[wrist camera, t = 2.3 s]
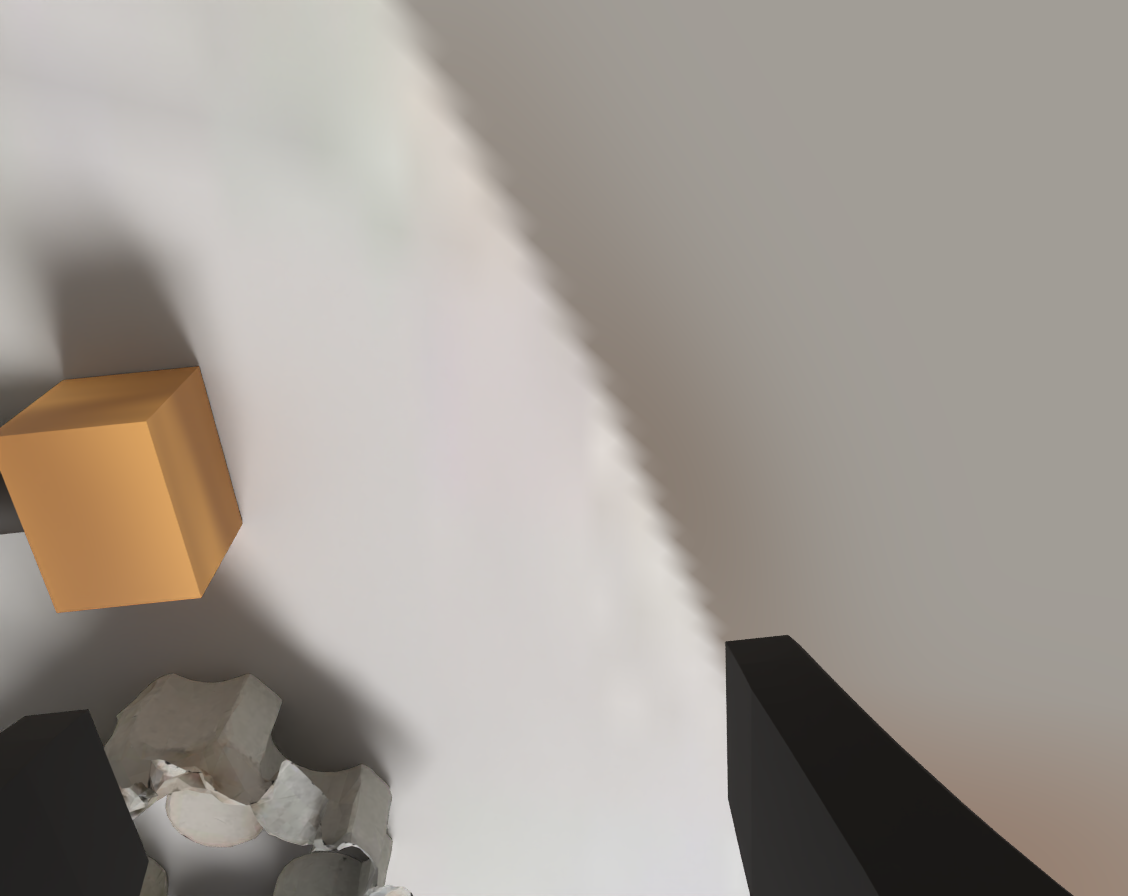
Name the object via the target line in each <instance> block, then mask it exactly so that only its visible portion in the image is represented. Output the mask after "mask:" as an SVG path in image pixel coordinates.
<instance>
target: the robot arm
mask: <svg viewBox="0 0 1128 896" xmlns="http://www.w3.org/2000/svg"><path fill="white" fill-rule="evenodd" d="M725 646H726V705H727V765H728V800H729V805H730V809H731V814H732V818H733V823H734V827H735V832H736V836H737V841H738V845H739V849H740V854H741V858H742V862H743V867H744V871H745V875H746V879H747V884H748V888H749V892H750V896H1073V895H1072V894H1071V893H1069V892H1068V891H1067V890H1065V889H1064V888H1063V887H1062V886H1061V885H1059V884H1058V883H1057V882H1056V881H1054V880H1053V879H1052V878H1051V877H1050V876H1048V875H1047V874H1046V873H1045V872H1044V871H1042V870H1041V869H1040V868H1039V867H1038V866H1036V865H1035V864H1034V863H1033V862H1031V861H1030V860H1029V859H1028V858H1027V857H1025V856H1024V855H1023V854H1022V853H1021V852H1019V851H1018V850H1017V849H1016V848H1015V847H1013V846H1012V845H1011V844H1010V843H1009V842H1007V841H1006V840H1005V839H1004V838H1003V837H1001V836H1000V835H999V834H998V833H997V832H995V831H994V830H993V829H992V828H991V827H990V826H989V825H987V824H986V823H985V822H984V821H983V820H982V819H981V818H979V817H978V816H977V815H976V814H975V813H974V812H973V811H971V810H970V809H969V808H968V807H967V806H966V805H964V804H963V803H962V802H961V801H960V800H959V799H958V798H957V797H956V796H954V795H953V794H952V793H951V792H950V791H949V790H948V789H947V788H946V787H945V786H944V785H943V784H942V783H940V782H939V781H938V780H937V779H936V778H935V777H934V776H933V775H932V774H931V773H929V772H928V771H927V770H926V769H925V768H924V767H923V766H922V765H921V764H919V763H918V762H917V761H916V760H915V759H914V758H913V757H912V756H911V755H910V754H909V753H907V752H906V751H905V750H904V749H903V748H902V747H901V746H900V745H899V744H898V743H897V742H896V741H895V740H894V739H893V738H892V737H891V736H890V735H889V734H888V733H887V732H886V731H884V730H883V729H882V728H881V727H880V726H879V725H878V724H877V723H876V722H875V721H874V720H873V719H872V718H871V717H870V716H869V715H868V714H867V713H866V712H865V711H864V710H863V709H862V708H861V707H860V706H859V705H858V704H857V703H856V702H855V701H854V700H853V699H852V698H851V697H850V696H849V695H848V694H847V693H846V692H845V691H844V690H843V689H842V688H841V687H840V686H839V685H838V684H837V683H836V682H835V681H834V680H833V679H832V678H831V677H830V676H829V675H828V674H827V673H826V672H825V671H824V670H823V669H822V668H821V666H819V665H818V663H817V662H816V661H815V660H814V659H813V658H812V657H811V656H810V655H809V654H808V653H807V652H806V651H805V650H804V649H803V648H802V647H801V646H800V645H799V644H798V643H797V642H796V641H795V640H793V639H792V638H791V637H790V636H788V635H783V636H773V637H765V638H755V639H745V640H736V641H726V642H725ZM148 863H149V860H148V857H147V855H146V853H145V850H144V848H143V845H142V843H141V840H140V838H139V835H138V833H137V830H136V828H135V825H134V823H133V820H132V818H131V815H130V813H129V810H128V808H127V805H126V803H125V800H124V798H123V795H122V793H121V790H120V788H119V785H118V783H117V780H116V778H115V775H114V773H113V770H112V768H111V765H110V763H109V760H108V758H107V755H106V753H105V750H104V748H103V745H102V743H101V740H100V738H99V735H98V733H97V730H96V728H95V725H94V723H93V720H92V718H91V715H90V713H89V710H88V709H87V710H78V711H69V712H59V713H50V714H40V715H31V716H25V717H23V718H22V719H20V720H19V721H17V722H16V723H14V724H13V725H12V726H10V727H9V728H7V729H6V730H4V731H3V732H1V733H0V896H140V892H141V889H142V885H143V881H144V878H145V874H146V870H147V866H148Z"/></svg>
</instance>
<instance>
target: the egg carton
mask: <svg viewBox="0 0 1128 896" xmlns="http://www.w3.org/2000/svg"><path fill="white" fill-rule="evenodd" d="M282 702H283V701H282V700H281V699H280V697H279V696H278V695H277V694H276V693H274V692H273V691H272V690H271V689H269V688H268V687H267V686H266V685H264V684H263V683H262V682H261V681H260V680H259V679H258V678H256V677H255V676H253V675H252V674H245V675H242V676H240V677H237V678H234V679H230V680H226V681H223V682H212V683H206V682H199V681H193V680H189V679H186V678H184V677H182V676H179V675H177V674H174V673H172V674H168V675H164V676H162V677H160V678H158V679H157V680H155V681H154V682H152V683H151V684H150V685H149V686H148V687H147V688H146V689H145V690H144V691H142V692H141V693H140V694H139V695H138V696H137V698H136V699H135V700H134V701H133V702H132V703H130V704H129V705H128V706H127V707H126V708H125V709H123V710H122V711H121V712H120V713H119V714H118V715H117V716H116V717H117V719H118V723H117V725H116V728H115V730H114V732H113V735H112V736H111V738H110V739H109V740H108V742H107V743H106V745H105V747H104V750H105V753H106V755H107V758H108V760H109V763H110V765H111V768H112V770H113V773H114V775H115V778H116V780H117V783H118V785H119V788H120V790H121V793H122V795H123V798H124V800H125V803H126V805H127V808H128V810H129V813H130V815H131V818H132V820H133V819H135V818H136V817H137V816H139V815H140V814H141V813H142V812H144V811H145V810H146V809H147V808H149V807H150V806H151V805H152V804H154V803H155V802H156V801H158V800H159V799H161V798H163V797H164V796H166V795H167V801H166V812H167V816H168V818H169V819H170V821H171V823H172V825H173V827H174V828H175V829H176V830H177V831H178V832H179V833H180V834H181V835H183V836H185V837H186V838H188V839H190V840H192V841H194V842H196V843H199V844H202V845H204V846H210V847H231V846H234V845H237V844H241V843H243V842H246V841H249V840H252V839H255V838H256V837H257V836H258V835H259V834H260V833H261V832H262V830H263V828H264V829H265V830H266V832H267V833H268V834H270V835H273V836H276V837H278V838H279V839H281V840H284V841H287V842H290V843H294V844H298V845H302V846H304V845H307V844H312V845H313V847H312V850H311V853H310V854H306V855H303V856H300V857H297V858H295V859H293V860H292V861H291V862H290V863H289V864H287V865H286V866H285V867H284V869H283V870H282V872H281V873H280V875H279V876H278V879H277V882H276V886H275V889H274V893H273V896H413V895H412V893H411V892H410V891H409V890H408V889H406V888H405V887H396V886H390V885H387V886H384V885H385V880H386V874H387V869H388V865H389V861H390V856H391V851H392V843H393V841H392V840H391V838H390V836H388V835H387V834H386V831H387V824H388V816H389V810H390V805H391V801H392V795H391V791H390V788H389V786H388V785H387V784H386V783H385V782H384V781H383V780H382V779H381V778H380V777H379V776H378V775H376V774H375V772H374V771H373V770H372V769H371V768H369V767H368V766H365V765H363V764H360V765H358V766H355V767H353V768H350V769H346V770H342V771H337V772H319V771H313V770H310V769H307V768H304V767H301V766H299V765H297V764H295V763H293V762H291V761H289V760H288V759H287V758H286V757H284V756H283V755H282V754H281V753H280V752H279V750H278V749H277V748H276V746H275V745H274V743H273V741H272V736H271V732H272V729H273V727H274V724H275V721H276V719H277V716H278V713H279V710H280V707H281V704H282ZM349 846H354V847H358V848H360V849H361V850H362V851H363V852H364V853H365V854H366V855H367V856H368V857H369V858H370V859H369V860H366V861H364V862H360V861H358V860H356V859H354V858H352V857H350V856H348V855H344V854H339V853H333V852H316V853H312V852H314V851H327V850H336V849H338V851H339V850H341V849H343V848H346V847H349ZM147 857H148V860H149V863H148V866H147V870H146V874H145V878H144V881H143V885H142V889H141V892H140V896H167V891H168V882H167V876H166V872H165V870H164V869H163V868H162V867H161V866H160V865H159V864H158V863H157V862H156V861H155V860H154V859H152V858H150V857H149V856H147Z"/></svg>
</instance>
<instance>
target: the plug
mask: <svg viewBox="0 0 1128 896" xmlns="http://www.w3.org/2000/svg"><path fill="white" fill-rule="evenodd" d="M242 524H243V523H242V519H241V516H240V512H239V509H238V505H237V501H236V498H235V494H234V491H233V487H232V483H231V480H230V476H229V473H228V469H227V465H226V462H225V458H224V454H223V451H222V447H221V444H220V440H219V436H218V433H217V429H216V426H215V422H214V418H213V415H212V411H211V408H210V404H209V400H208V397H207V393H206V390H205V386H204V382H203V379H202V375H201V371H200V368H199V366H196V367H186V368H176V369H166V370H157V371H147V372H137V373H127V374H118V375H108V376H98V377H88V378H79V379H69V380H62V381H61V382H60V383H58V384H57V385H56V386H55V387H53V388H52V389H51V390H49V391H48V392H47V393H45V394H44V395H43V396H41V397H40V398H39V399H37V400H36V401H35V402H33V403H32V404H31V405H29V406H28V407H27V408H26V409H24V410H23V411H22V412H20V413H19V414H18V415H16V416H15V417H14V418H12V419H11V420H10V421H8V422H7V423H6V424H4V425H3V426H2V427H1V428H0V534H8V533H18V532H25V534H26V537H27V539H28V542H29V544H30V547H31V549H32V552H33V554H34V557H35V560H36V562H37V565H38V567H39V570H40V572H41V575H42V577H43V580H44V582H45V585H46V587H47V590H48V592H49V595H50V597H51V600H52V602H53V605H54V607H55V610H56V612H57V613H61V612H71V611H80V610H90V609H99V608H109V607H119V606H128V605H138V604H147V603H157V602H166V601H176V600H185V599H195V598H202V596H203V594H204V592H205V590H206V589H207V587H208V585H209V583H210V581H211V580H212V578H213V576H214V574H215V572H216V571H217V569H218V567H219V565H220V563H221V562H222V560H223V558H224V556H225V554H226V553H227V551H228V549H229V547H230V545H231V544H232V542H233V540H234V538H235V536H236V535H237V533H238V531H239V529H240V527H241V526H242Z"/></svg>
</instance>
